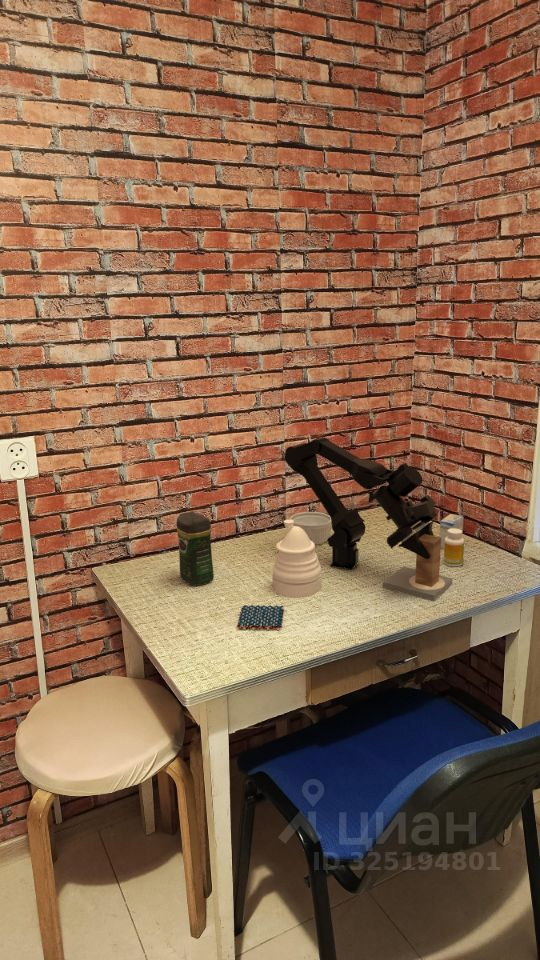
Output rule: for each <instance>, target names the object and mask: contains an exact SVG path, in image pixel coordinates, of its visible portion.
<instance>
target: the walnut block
mask: <svg viewBox="0 0 540 960" xmlns="http://www.w3.org/2000/svg"><path fill="white" fill-rule="evenodd" d="M419 539H420V541H421V542H422V544H423V545H424V547H425V548H426V550H427V552H428V553H429V555H430V558H429V559H425V558H423V557H421V556H420V555H418V554H416V553H415V554H416V558H415V559H416V560H415V569H416V575H415V583H418V584H422V585H426V586H429V587H432V586H433V585H435V584H436V583H437V582H438V581H439V575H440V569H441V551H442V549H441V537H439V536H437V535H434V536H432V535H428V534H424V535H423V536H421V537H420V538H419Z"/></svg>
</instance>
